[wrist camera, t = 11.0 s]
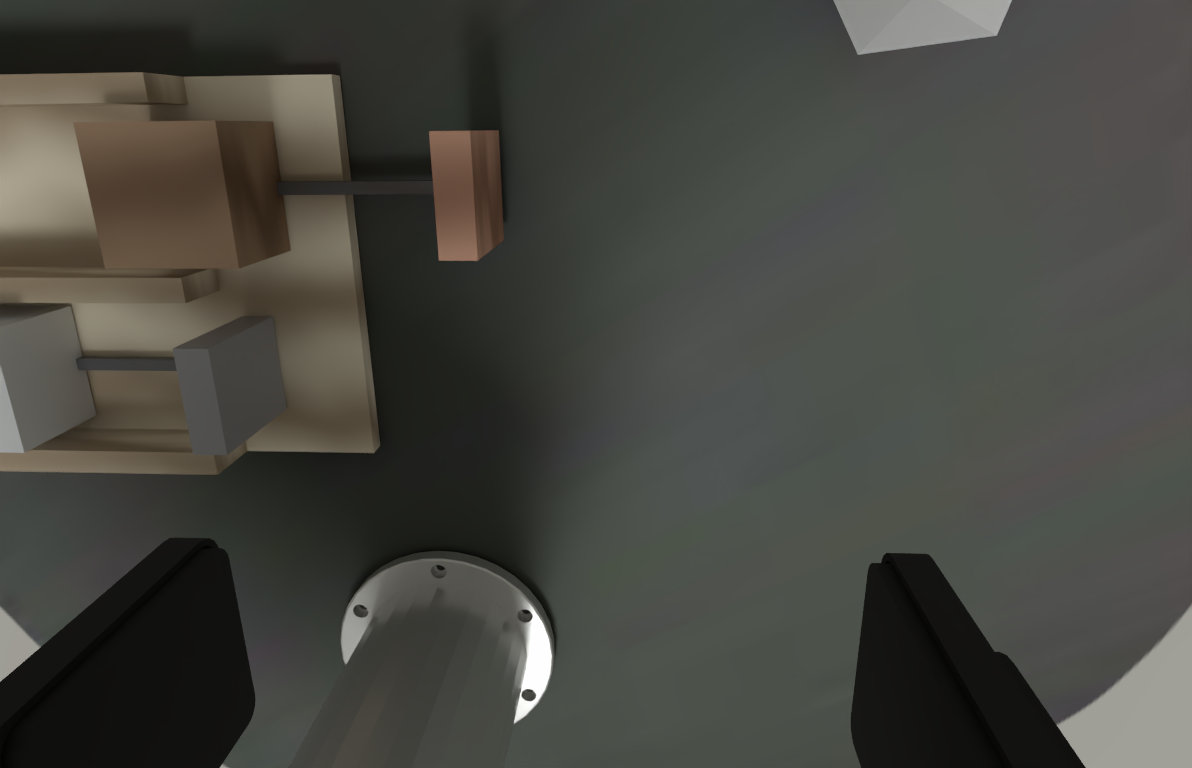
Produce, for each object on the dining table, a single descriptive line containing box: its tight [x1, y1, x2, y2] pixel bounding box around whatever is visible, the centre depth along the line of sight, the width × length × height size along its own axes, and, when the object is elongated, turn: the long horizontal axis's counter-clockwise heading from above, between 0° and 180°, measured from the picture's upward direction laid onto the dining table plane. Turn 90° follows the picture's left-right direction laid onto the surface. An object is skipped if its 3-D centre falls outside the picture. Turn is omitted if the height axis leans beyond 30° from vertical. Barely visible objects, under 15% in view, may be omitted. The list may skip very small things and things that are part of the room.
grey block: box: [0, 306, 287, 455], centre depth 37 cm, size 6×17×6 cm, turn 91°
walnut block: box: [73, 120, 504, 269], centre depth 33 cm, size 6×17×6 cm, turn 91°
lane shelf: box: [0, 72, 380, 475], centre depth 37 cm, size 19×23×4 cm
